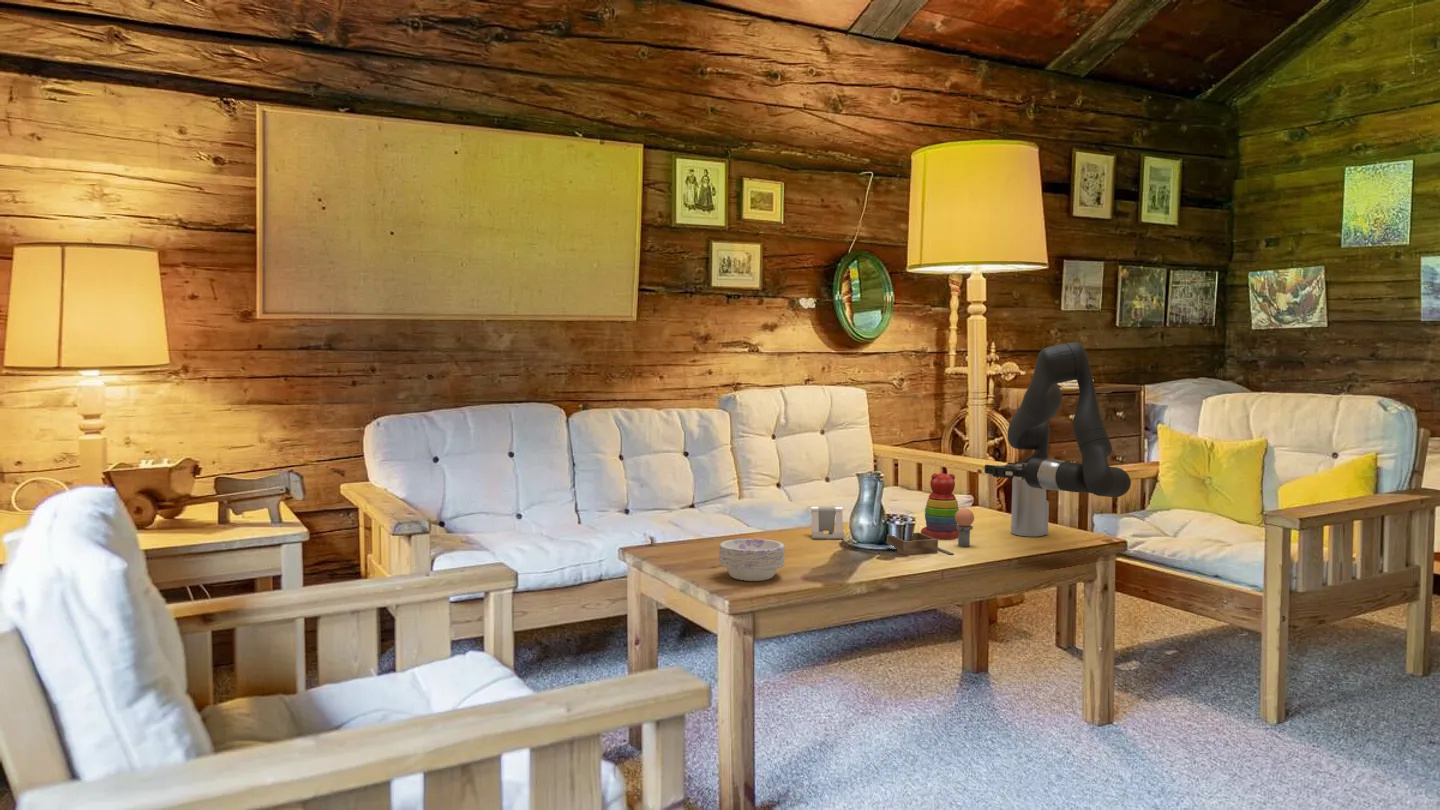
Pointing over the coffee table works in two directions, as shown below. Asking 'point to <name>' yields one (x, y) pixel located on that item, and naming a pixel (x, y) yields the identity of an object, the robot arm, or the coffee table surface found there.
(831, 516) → the portable electronic device stand
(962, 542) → the tee
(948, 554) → the finish line
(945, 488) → the stacking bear
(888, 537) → the shallow wooden crate
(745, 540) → the paper bowls
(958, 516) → the ball
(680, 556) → the coffee table surface
